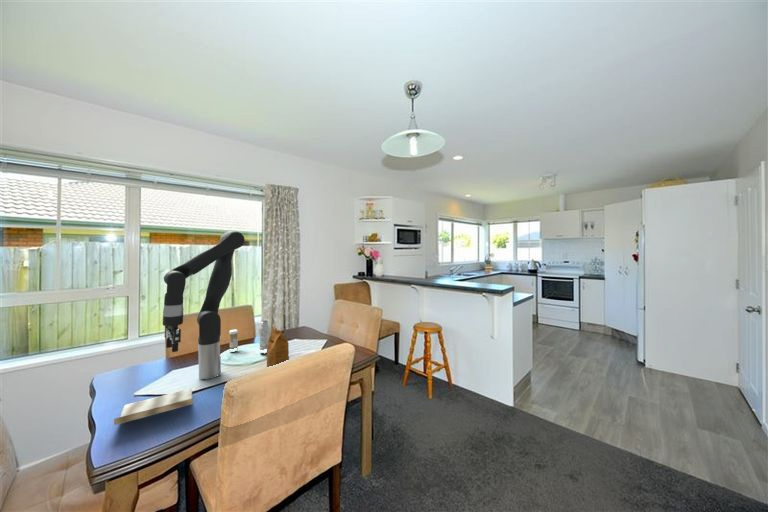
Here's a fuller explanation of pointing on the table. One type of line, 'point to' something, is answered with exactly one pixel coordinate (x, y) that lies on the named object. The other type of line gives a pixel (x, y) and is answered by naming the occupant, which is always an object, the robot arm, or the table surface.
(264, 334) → the plastic bottle
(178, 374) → the table surface
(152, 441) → the table surface
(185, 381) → the table surface
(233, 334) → the sprinkles bottle
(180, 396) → the grey-washed plank
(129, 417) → the honey oak plank
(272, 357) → the coffee package
